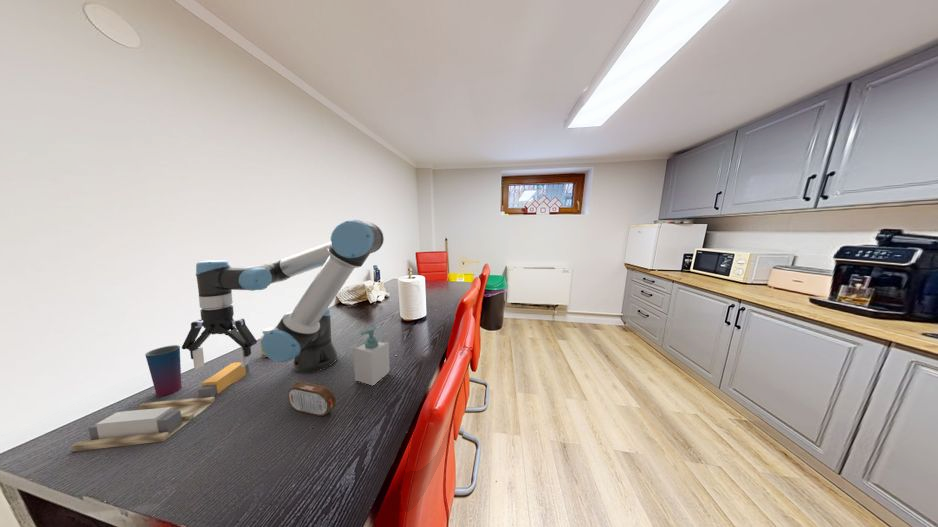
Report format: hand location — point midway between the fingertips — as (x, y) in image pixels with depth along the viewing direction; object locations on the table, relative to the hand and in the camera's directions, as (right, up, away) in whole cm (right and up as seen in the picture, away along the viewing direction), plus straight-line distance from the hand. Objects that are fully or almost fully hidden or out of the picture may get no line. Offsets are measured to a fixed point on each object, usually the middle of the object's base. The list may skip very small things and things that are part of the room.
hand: (222, 366), depth 82 cm
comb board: (-2, -9, -17) cm, 19 cm away
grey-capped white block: (-1, -9, -20) cm, 22 cm away
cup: (-14, -7, -4) cm, 16 cm away
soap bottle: (+49, -7, +6) cm, 50 cm away
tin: (+38, -9, -11) cm, 40 cm away
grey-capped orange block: (0, -7, +1) cm, 7 cm away
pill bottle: (-1, -5, +22) cm, 22 cm away
